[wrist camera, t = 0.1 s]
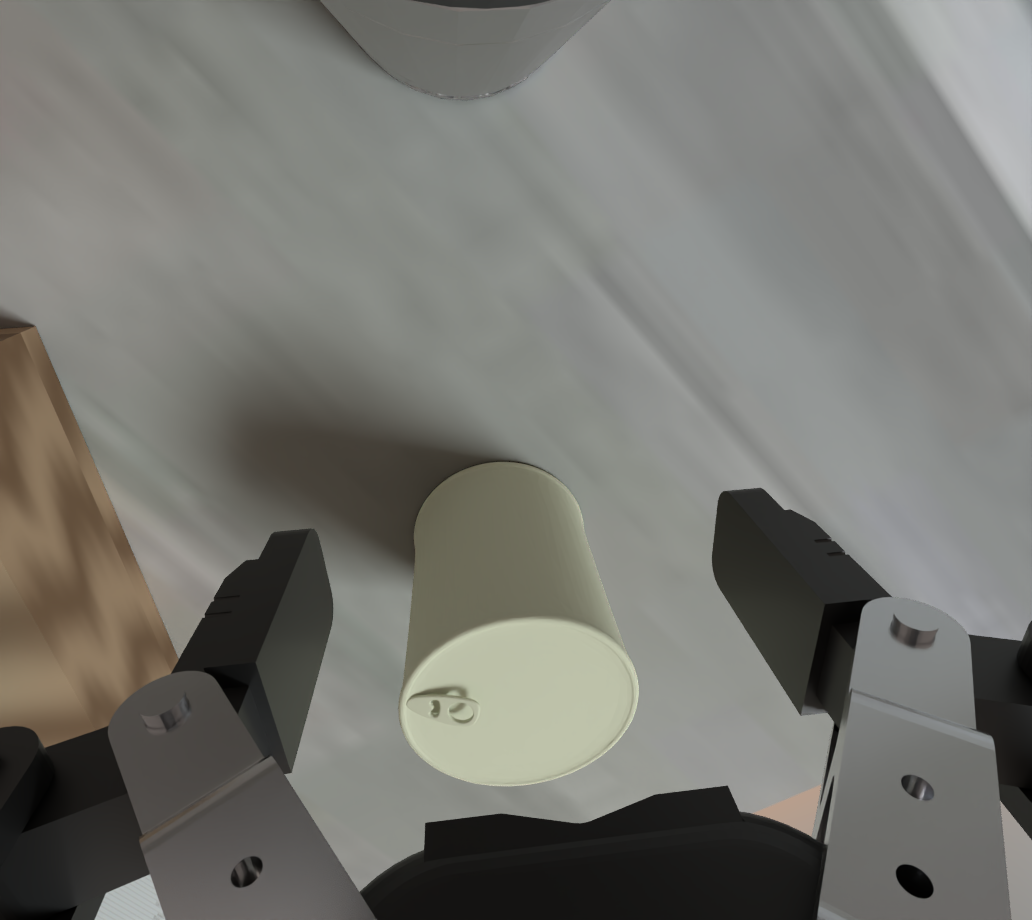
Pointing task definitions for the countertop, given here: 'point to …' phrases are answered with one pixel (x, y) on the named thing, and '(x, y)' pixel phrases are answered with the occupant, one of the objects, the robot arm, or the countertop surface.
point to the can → (510, 633)
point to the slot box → (63, 566)
